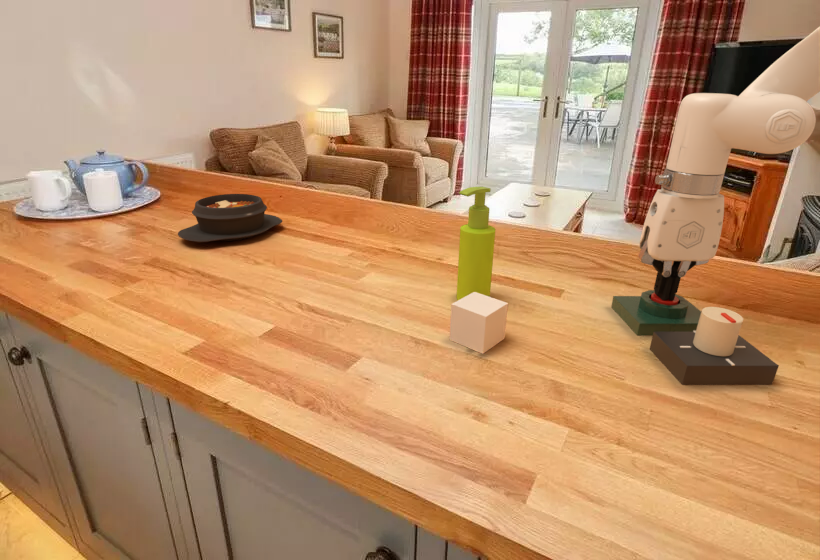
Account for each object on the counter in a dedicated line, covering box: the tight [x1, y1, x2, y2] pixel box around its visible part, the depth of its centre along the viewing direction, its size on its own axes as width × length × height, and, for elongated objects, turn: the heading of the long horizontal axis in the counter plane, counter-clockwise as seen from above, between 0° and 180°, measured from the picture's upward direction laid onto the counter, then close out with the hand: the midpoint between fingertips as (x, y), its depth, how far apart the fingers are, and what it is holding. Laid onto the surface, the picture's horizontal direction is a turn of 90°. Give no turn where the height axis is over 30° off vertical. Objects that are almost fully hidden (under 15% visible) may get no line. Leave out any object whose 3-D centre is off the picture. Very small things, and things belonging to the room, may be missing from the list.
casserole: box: [177, 193, 283, 243], centre depth 118 cm, size 25×19×8 cm
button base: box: [610, 289, 702, 337], centre depth 80 cm, size 12×10×4 cm
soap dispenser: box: [456, 186, 496, 301], centre depth 83 cm, size 6×7×20 cm
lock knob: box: [693, 306, 744, 356], centre depth 66 cm, size 5×5×5 cm
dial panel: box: [649, 331, 779, 386], centre depth 68 cm, size 12×9×3 cm
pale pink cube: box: [449, 292, 509, 355], centre depth 73 cm, size 6×6×6 cm
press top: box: [650, 293, 679, 305], centre depth 79 cm, size 4×4×2 cm
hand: (663, 296), depth 79 cm, fingers closed
